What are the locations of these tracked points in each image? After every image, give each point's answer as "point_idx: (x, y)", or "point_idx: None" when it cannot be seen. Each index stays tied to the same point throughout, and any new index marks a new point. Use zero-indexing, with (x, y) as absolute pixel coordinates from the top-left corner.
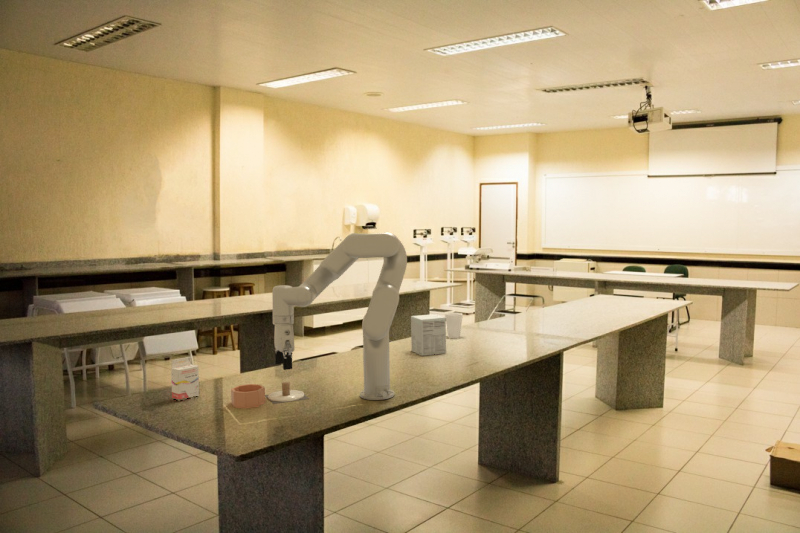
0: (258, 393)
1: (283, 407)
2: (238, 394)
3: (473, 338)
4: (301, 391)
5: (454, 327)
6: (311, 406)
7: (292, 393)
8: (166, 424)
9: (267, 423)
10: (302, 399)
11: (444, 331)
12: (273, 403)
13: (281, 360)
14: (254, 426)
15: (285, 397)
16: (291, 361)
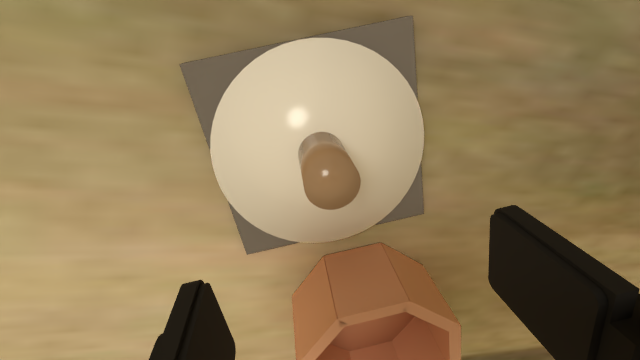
0: (452, 313)
1: (468, 169)
2: None
3: None
4: (274, 50)
5: None
6: (532, 23)
7: (305, 115)
8: None
9: (628, 233)
10: (413, 62)
11: None
12: (415, 214)
13: (211, 332)
14: (625, 270)
15: (377, 161)
16: (583, 261)
